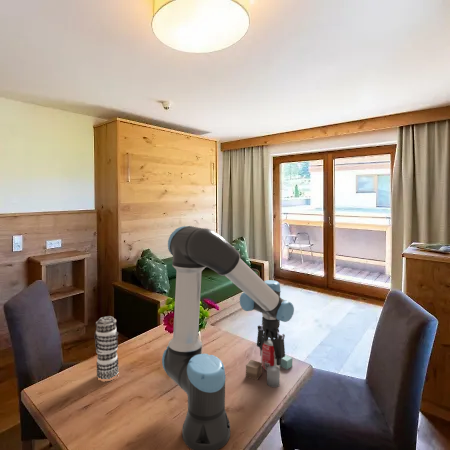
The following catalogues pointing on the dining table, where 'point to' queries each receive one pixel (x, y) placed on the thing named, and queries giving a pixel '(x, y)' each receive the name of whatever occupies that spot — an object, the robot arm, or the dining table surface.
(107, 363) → the decorative candle
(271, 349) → the soda can
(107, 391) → the dining table surface
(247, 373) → the tan block
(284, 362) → the teal block
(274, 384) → the grey capsule
